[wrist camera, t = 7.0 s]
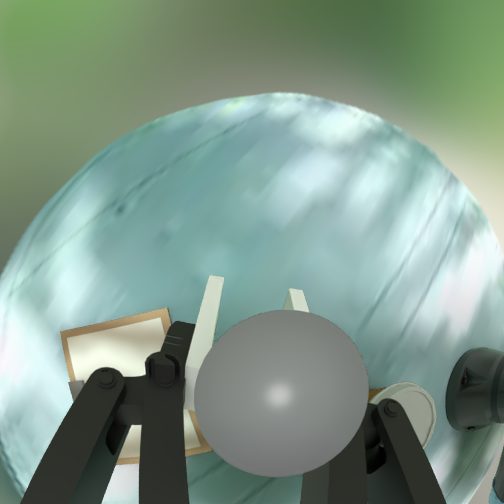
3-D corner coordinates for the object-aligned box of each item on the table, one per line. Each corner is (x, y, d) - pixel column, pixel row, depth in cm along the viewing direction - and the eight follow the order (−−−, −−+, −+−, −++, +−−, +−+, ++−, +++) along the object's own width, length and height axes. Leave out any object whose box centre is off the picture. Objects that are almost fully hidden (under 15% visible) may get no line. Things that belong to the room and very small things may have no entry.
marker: (272, 388, 17) (384, 433, 5) (217, 404, 16) (228, 497, 4) (255, 335, 18) (339, 288, 6) (200, 350, 17) (170, 337, 5)
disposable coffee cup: (343, 458, 27) (393, 488, 16) (300, 415, 29) (343, 439, 18) (391, 409, 30) (450, 417, 19) (354, 364, 32) (412, 361, 21)
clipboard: (212, 448, 26) (212, 453, 25) (101, 463, 23) (96, 468, 21) (167, 308, 32) (165, 305, 30) (63, 332, 29) (56, 330, 27)
